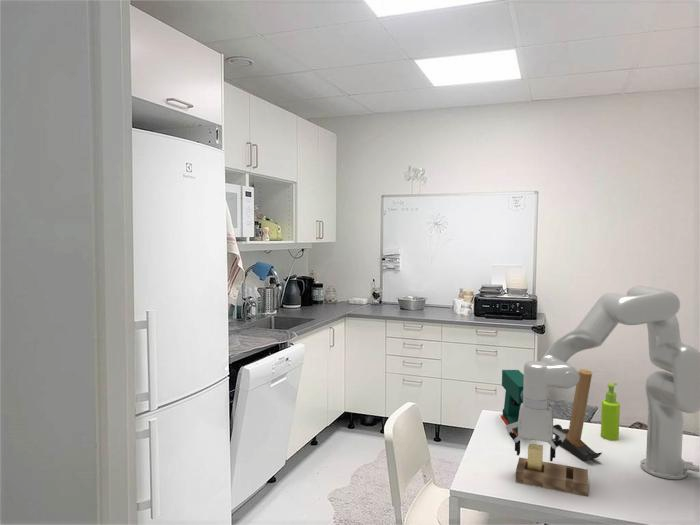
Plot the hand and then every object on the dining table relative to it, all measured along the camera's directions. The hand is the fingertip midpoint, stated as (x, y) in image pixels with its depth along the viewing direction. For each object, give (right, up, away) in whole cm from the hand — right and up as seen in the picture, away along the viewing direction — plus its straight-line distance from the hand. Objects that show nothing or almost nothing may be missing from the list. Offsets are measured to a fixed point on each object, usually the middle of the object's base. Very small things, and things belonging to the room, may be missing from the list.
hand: (534, 456), depth 156 cm
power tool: (+8, -5, +34) cm, 35 cm away
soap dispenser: (+39, -5, +31) cm, 50 cm away
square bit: (0, -7, 0) cm, 7 cm away
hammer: (+21, -6, +20) cm, 29 cm away
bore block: (+5, -7, -2) cm, 8 cm away
